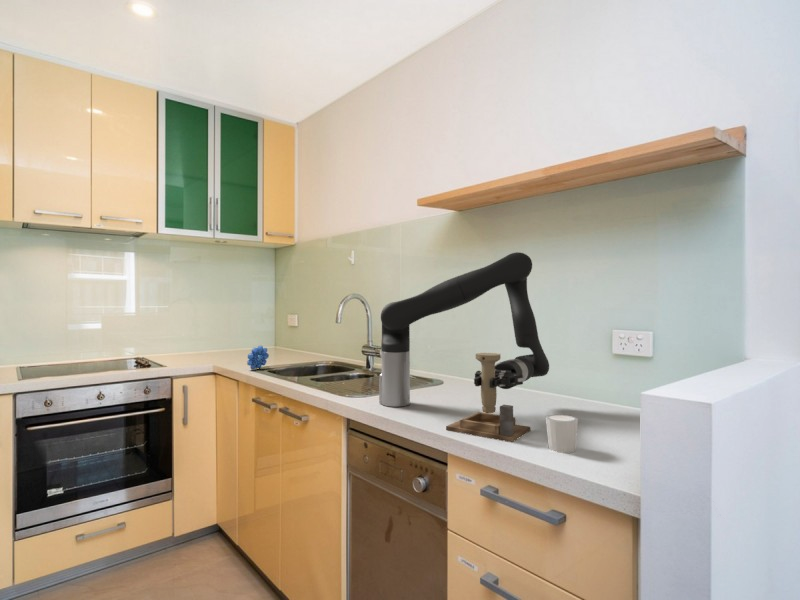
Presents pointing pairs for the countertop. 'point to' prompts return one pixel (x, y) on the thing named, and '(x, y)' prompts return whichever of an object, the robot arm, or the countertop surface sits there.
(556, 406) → the countertop surface
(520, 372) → the robot arm
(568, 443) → the white faceted cup
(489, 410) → the handle
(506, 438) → the seat board
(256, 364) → the grapes
